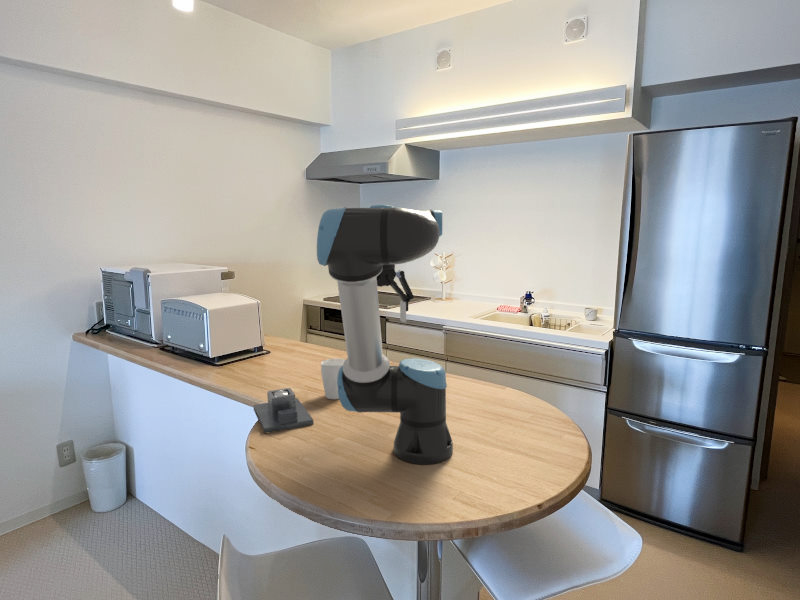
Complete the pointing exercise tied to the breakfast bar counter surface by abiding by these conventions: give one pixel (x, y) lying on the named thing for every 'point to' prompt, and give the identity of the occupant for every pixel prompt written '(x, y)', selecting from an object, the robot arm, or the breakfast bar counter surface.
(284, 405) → the grey hollow block
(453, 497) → the breakfast bar counter surface
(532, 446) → the breakfast bar counter surface
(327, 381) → the cup
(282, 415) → the shaft base
